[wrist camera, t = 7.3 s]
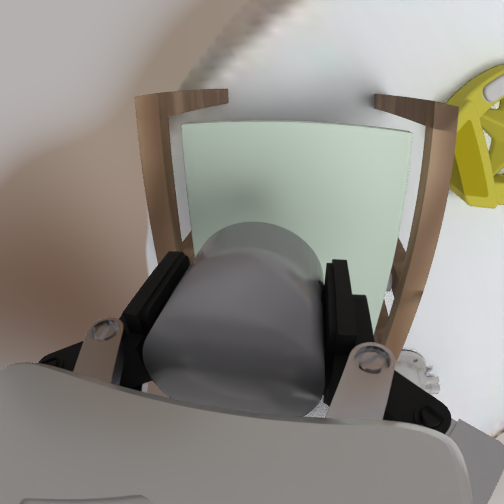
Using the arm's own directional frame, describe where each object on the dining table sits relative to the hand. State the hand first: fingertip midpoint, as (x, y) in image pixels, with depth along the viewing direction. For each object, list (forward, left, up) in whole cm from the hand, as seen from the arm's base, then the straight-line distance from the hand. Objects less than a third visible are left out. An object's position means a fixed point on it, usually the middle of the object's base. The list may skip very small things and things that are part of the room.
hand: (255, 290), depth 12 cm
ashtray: (-27, -6, -25) cm, 37 cm away
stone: (0, 0, -1) cm, 1 cm away
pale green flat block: (-1, +3, -14) cm, 14 cm away
